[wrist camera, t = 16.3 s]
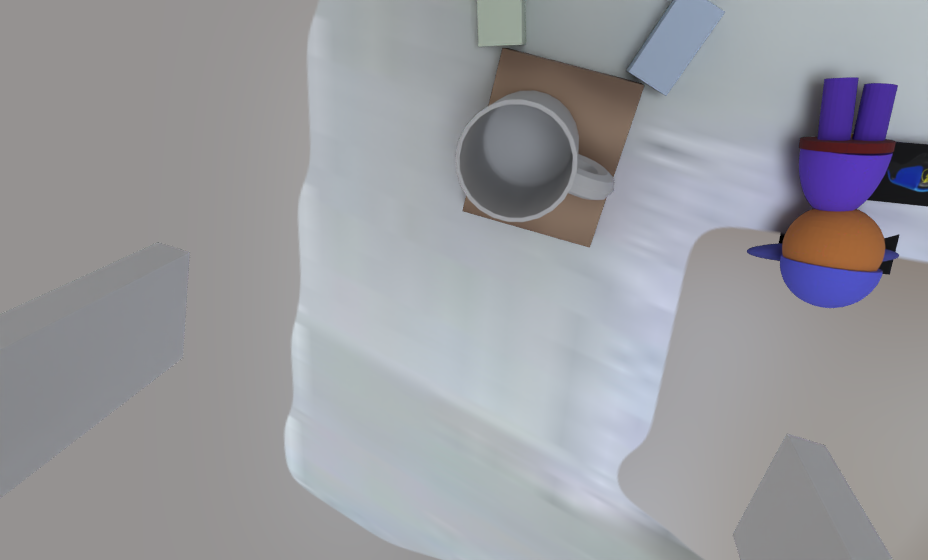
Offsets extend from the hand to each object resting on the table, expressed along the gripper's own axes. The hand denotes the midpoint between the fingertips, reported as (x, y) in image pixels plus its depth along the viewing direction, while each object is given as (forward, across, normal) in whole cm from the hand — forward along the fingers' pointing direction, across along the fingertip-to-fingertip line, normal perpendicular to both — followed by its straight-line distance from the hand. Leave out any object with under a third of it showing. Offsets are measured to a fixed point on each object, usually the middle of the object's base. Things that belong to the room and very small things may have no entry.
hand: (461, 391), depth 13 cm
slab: (+36, 0, 0) cm, 37 cm away
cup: (+34, 0, 0) cm, 34 cm away
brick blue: (+37, +6, +9) cm, 38 cm away
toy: (+35, +19, +10) cm, 41 cm away
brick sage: (+37, -6, +9) cm, 38 cm away
